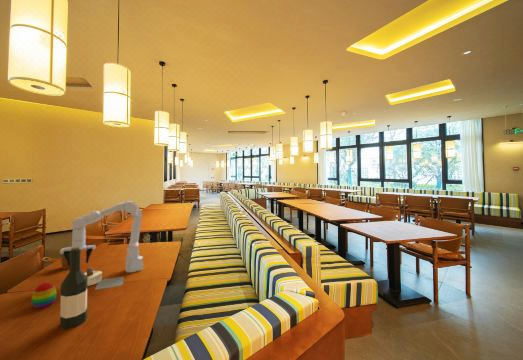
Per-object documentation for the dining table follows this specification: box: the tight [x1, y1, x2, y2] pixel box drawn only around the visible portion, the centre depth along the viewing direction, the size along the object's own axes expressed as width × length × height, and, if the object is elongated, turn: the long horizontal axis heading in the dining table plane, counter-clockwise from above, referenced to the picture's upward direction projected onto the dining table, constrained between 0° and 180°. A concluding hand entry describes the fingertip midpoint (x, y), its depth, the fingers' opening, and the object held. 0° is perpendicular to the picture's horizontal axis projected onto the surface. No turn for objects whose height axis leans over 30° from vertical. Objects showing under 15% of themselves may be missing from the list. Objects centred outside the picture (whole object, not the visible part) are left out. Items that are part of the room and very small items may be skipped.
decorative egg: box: [31, 282, 58, 309], centre depth 101 cm, size 8×8×10 cm
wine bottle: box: [59, 247, 88, 330], centre depth 89 cm, size 8×8×30 cm
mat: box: [94, 275, 125, 291], centre depth 121 cm, size 12×12×1 cm
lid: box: [83, 267, 103, 281], centre depth 121 cm, size 11×11×4 cm
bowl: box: [87, 276, 103, 287], centre depth 122 cm, size 10×10×4 cm
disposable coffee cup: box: [58, 246, 70, 270], centre depth 142 cm, size 10×10×12 cm
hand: (78, 263), depth 123 cm, fingers open, 7 cm apart
